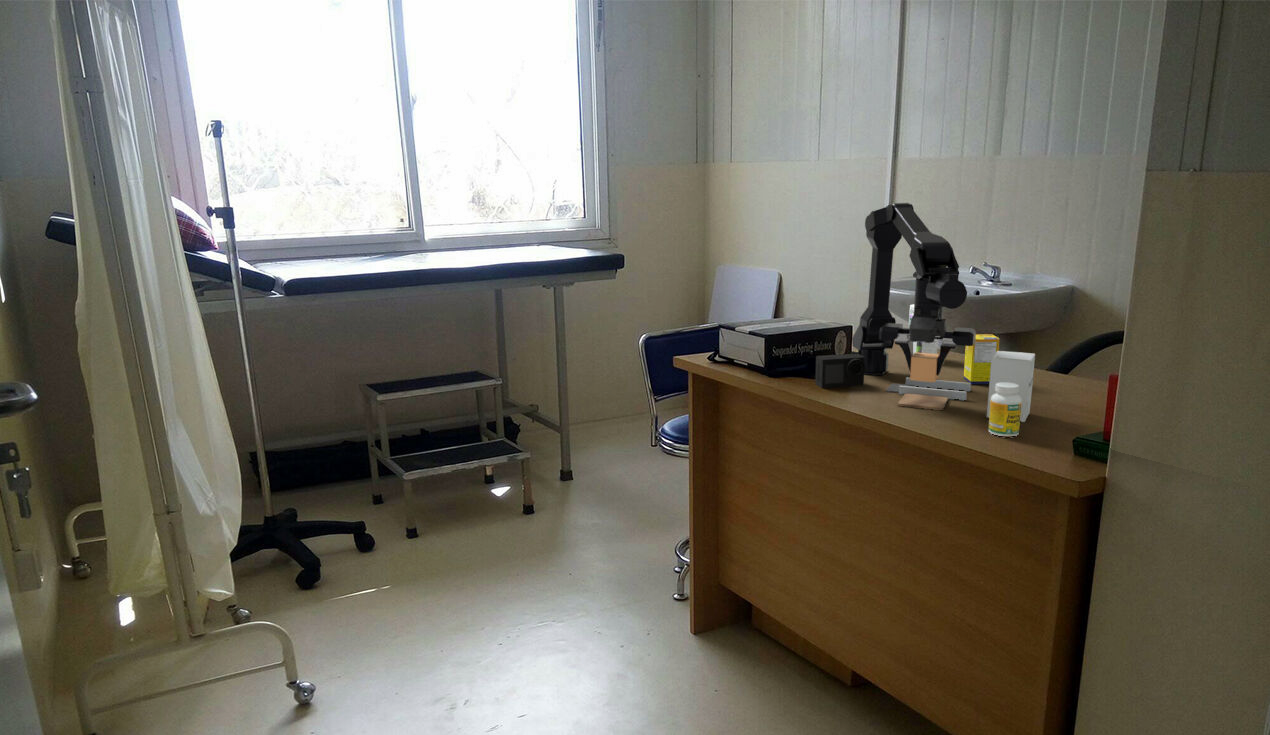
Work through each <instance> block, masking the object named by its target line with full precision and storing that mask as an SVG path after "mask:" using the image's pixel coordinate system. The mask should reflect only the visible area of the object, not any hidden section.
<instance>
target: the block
mask: <svg viewBox="0 0 1270 735" xmlns="http://www.w3.org/2000/svg"><path fill="white" fill-rule="evenodd" d="M939 355H940V353H937V354H929V353H917V352H915V354H914V355H913V356H912V357H911V373H910V372H909V373H910V375H909V378H910V380H914V381H925V382H935V381H936V380H938V378H939V375H937V365H938V360H939Z"/></svg>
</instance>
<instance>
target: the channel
mask: <svg viewBox="0 0 1270 735" xmlns="http://www.w3.org/2000/svg"><path fill="white" fill-rule="evenodd" d="M905 385H914V387H911V386H899V393H898V395H903V394H905V393H908V394H919V395H929V396H939V397H948V400H954V399H959V400H958V401H964V400H966V401H967V393H968V392H971V389H972V387H971V386H972V384H971V383H968V382H967V381H966V382H964V381H953V380H941V379H937V380H936V381H935V382H925V381H914V380H910V376H909V377H908V376H907V377H905ZM916 386H919V387H916ZM927 387H930V388H927ZM937 388H942V389H937ZM948 389H954V390H948ZM959 390H964V391H959Z"/></svg>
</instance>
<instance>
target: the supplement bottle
mask: <svg viewBox="0 0 1270 735" xmlns="http://www.w3.org/2000/svg"><path fill="white" fill-rule="evenodd" d="M995 391H996V392H997V393H995V394H993V395H992V397H991V401H990V416H989V418H988V419H989V420H988V433H989V432H990V433H991V434H990V433H989V434H990V435H992V434H994V435H998V436H1016V437H1018V436H1019V433H1020V425H1021V422H1020V417H1021V405H1022V399H1021V397H1020V396H1018V395H1017V393H1018V392H1019V385H1018V384H1015V383H1009V382H1000V383H996V386H995ZM994 435H993V436H994ZM1017 435H1018V436H1017ZM998 436H997V437H998Z"/></svg>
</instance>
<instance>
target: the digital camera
mask: <svg viewBox="0 0 1270 735" xmlns="http://www.w3.org/2000/svg"><path fill="white" fill-rule="evenodd" d="M865 370H866V366H865V357H863V356H861V355H859V354H858V353H843V354H830V355H816V357H815V379H814V380H815V385H816V386H817V387H819V388H821V389H833V388H834V389H835V388H837V389H838V388H849V387H863V386H864V384H865V374H864V373H865Z"/></svg>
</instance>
